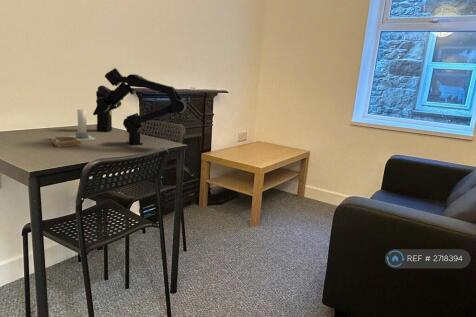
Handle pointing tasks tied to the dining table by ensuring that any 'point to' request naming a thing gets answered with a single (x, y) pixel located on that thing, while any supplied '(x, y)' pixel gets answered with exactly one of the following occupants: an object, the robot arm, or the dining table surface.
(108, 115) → the portable radio
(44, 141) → the dining table surface
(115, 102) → the robot arm
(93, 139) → the pad
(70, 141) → the brown wooden square tray
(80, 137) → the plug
